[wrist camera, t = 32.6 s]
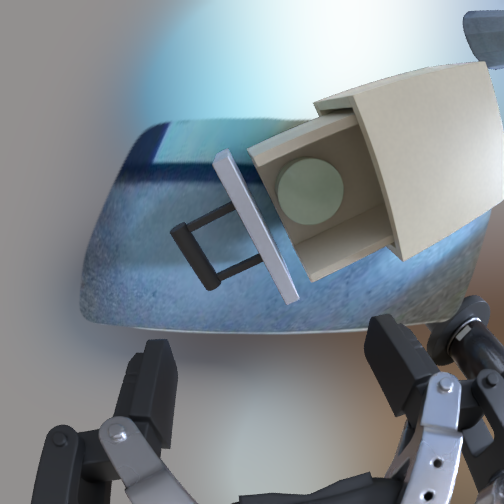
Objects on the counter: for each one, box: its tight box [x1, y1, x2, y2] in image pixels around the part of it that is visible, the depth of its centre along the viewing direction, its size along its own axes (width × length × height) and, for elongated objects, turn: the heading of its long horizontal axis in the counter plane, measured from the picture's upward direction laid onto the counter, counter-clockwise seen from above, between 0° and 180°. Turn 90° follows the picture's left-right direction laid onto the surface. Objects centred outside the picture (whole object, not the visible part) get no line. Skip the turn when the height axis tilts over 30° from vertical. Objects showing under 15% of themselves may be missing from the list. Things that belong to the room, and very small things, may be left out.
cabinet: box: [313, 61, 504, 262], centre depth 22 cm, size 16×14×9 cm
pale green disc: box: [275, 156, 344, 225], centre depth 25 cm, size 6×6×2 cm
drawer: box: [170, 107, 395, 305], centre depth 24 cm, size 20×13×7 cm, turn 116°
